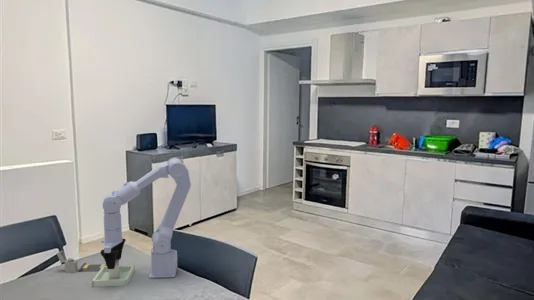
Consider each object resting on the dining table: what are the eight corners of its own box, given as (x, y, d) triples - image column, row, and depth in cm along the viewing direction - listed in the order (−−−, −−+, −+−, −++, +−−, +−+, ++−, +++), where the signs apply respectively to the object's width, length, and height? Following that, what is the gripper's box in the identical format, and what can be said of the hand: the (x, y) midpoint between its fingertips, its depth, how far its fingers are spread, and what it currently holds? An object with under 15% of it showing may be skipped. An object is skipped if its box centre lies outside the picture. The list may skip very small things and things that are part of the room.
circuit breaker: (77, 271, 139) (77, 251, 138) (75, 273, 138) (74, 253, 137) (60, 270, 140) (59, 250, 139) (57, 272, 138) (56, 252, 137)
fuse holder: (109, 265, 145) (109, 262, 145) (105, 272, 139) (104, 269, 139) (84, 265, 144) (84, 262, 144) (78, 272, 138) (78, 269, 138)
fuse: (120, 275, 136) (120, 259, 135) (117, 280, 132) (117, 263, 132) (110, 275, 136) (110, 259, 135) (107, 280, 132) (107, 263, 131)
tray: (134, 271, 140) (134, 265, 140) (126, 286, 129) (126, 280, 129) (103, 272, 139) (102, 266, 139) (92, 287, 128) (91, 281, 127)
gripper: (107, 221, 138) (109, 255, 140) (94, 235, 124) (95, 273, 126) (127, 221, 139) (128, 255, 141) (115, 235, 125) (117, 272, 127)
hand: (114, 263), depth 133 cm, fingers open, 7 cm apart
